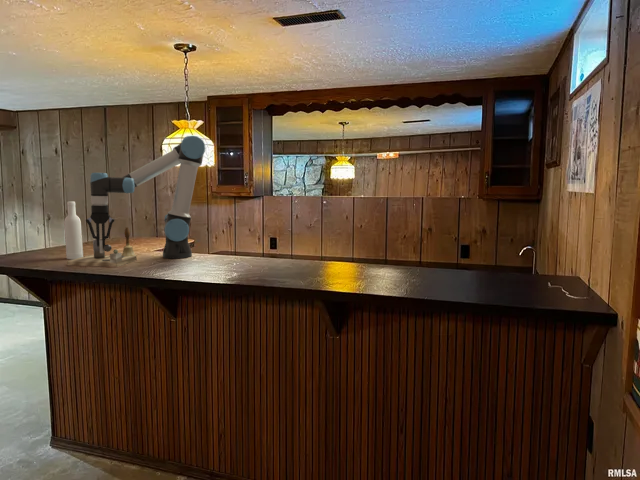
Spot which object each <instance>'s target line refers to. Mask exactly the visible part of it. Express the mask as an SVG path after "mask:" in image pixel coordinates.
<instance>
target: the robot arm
mask: <svg viewBox="0 0 640 480" xmlns="http://www.w3.org/2000/svg"><path fill="white" fill-rule="evenodd" d="M206 149H207V148H206V144H205V142H204V140H203V139H202V138H201V137H199V136H198V135H196V134H195V135H193V134H190V135H187V136H185V137H184V138H183V139H182V140H181V142H180V143H179V144H178V145H176V146H174V147H173V148H172V149H171V151H169V152H167V153H165V154H163V155H161V156H160V157H157V158H156V159H154V160H151V161H150V162H148V163H146V164H144V165H143V166H140V167H138V168H137V169H135V170H133V171H132V172H129V173H127V174H125V175H123V176H122V177H118V176H117V177H112V176H109V175H108V173H106V172H92V173H90V182H89V183H90V204H91V205H90V210H91V214H90V215H89V216H90V217H88V218H86V219H85V223H87V225H88V227H89V231H90V233H91V237H92V239H93V240H97V246H100V253H103V246H105V245H106V240H107V239H109V238H110V234H111V230H112V226H113V223H114V222H115V219H114V218H112V217H111V215H110V214H109V213H110V211H109V193H110V194H112V193H113V194H115V193H116V194H133V193H134V192H135V188H137V187H138V186H140V185H142V184H144V183H145V182H149V181H150V180H152V179H154V178H155V177H157V176H159V175H161V174H163V173H165V172H167V171H169V170H171V169H172V168H175V167H177V166H178V165H179V171H178V174H177V181H176V185H175V191H174V196H173V202H172V206H171V210H169V211H168V212H167V214H166V215H164V220H163V221H164V228H163V229H164V234H165V235H164V237H165V243H164V244H165V245H164V247H163V251H162V257H163V258H164V259H185V258H190V257H191V256H193V252H192V249H191V246H190V243H189V234H190V224H191V219H192V216H191V214H190V209H191V204H192V199H193V194H194V189H195V183H196V179H197V173H198V170H199V167H201V166H202V165H203V159H204V154H205V152H206ZM92 221H93V222H94V224H95V227H96V228H95V230H96V231H95V230H94V227H93V224H92ZM107 222H109V224H108V227H107V228H108V229H107V232H106V228H105V227H106V223H107ZM100 225H101V235H100ZM100 236H101V237H100ZM100 238H101V239H100Z"/></svg>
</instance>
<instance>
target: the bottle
mask: <svg viewBox="0 0 640 480" xmlns="http://www.w3.org/2000/svg"><path fill="white" fill-rule="evenodd" d="M66 204H67V215H66V217H65V218H64V220H63V225H64V226H63V228H64V237H65V238H64V239H65V256H66V260H74V259H77V258H81V257H84V249H83V237H82V236H83V234H82V233H83V232H82V222H81V221H82V220H81V219H80V217H79V216H78V215H77V213H76V212H77V211H76V210H77V209H76V205H77V204H76V201H74V200H72V201H70V200H69V201H67V202H66Z"/></svg>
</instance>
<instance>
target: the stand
mask: <svg viewBox="0 0 640 480" xmlns="http://www.w3.org/2000/svg"><path fill="white" fill-rule="evenodd" d="M118 251H119V250H118V249H114V250H113V251H112V253H110V254H109V255H105V258H94V254H89V255H85V256H83V257H81V258H77V259H69V260H67V261H66V265H67V266H76V267H77V266H78V267H81V266H82V267H111V268H118V267H121V266H124V265H126V264H129V263H132V262H135V261H137V256H122V253H123V252H118Z"/></svg>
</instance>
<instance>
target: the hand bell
mask: <svg viewBox="0 0 640 480" xmlns="http://www.w3.org/2000/svg"><path fill="white" fill-rule="evenodd" d="M130 233H131V231H130V229H129V227H128V226H127V227H125V229H124V237H125V246H124V247H123V251H122V252H121V253H122V256H136V257H137V256H138V255H137V254H136V253H135V252H134V249H133V246H132V245H130V237H131V236H130V235H131V234H130Z"/></svg>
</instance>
